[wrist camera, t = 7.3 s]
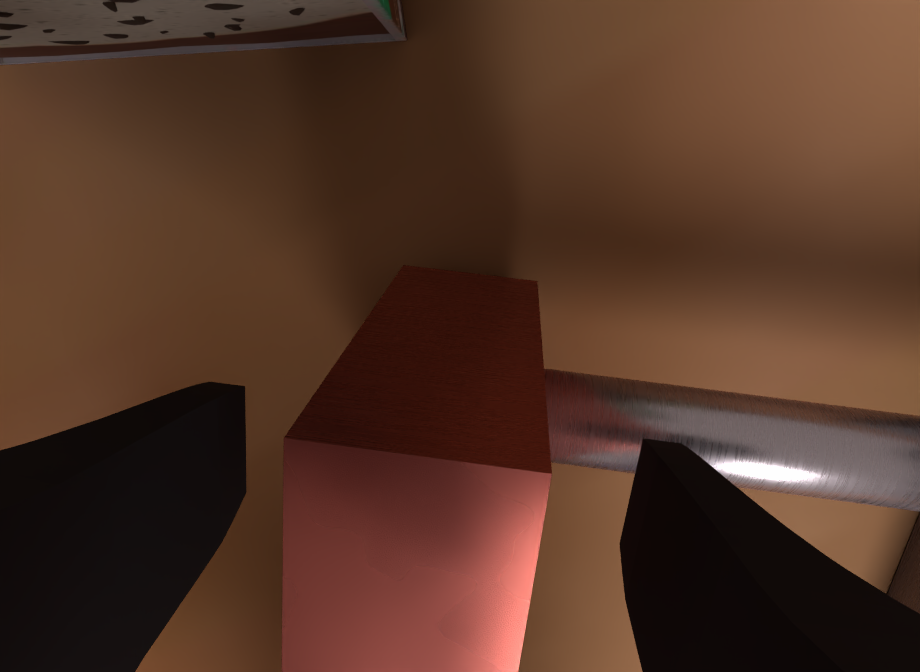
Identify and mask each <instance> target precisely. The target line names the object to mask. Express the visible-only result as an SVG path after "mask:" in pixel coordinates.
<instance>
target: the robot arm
mask: <svg viewBox="0 0 920 672" xmlns="http://www.w3.org/2000/svg"><path fill="white" fill-rule="evenodd" d="M245 494H246V425H245V386H238V385H230V384H223V383H215V382H206V383H201V384H197V385H194V386H190V387H187V388H184V389H181V390H178V391H175V392H172V393H170V394H167V395H164V396H161V397H158V398H156V399H153V400H150V401H148V402H145V403H142V404H139V405H137V406H134V407H131V408H129V409H126V410H123V411H120V412H118V413H115V414H112V415H109V416H107V417H104V418H101V419H98V420H95V421H92V422H89V423H86V424H83V425H80V426H77V427H74V428H71V429H68V430H65V431H62V432H59V433H56V434H53V435H50V436H47V437H44V438H41V439H38V440H35V441H32V442H28V443H25V444H22V445H18V446H15V447H11V448H8V449H4V450H0V672H135V671H136V669H137V668H138V666H139V664H140V663H141V661H142V660H143V658H144V656H145V655H146V653H147V652H148V651H149V649H150V648H151V646H152V645H153V643H154V642H155V640H156V639H157V637H158V636H159V634H160V633H161V632H162V630H163V629H164V627H165V626H166V624H167V623H168V621H169V620H170V618H171V617H172V615H173V614H174V613H175V611H176V610H177V608H178V607H179V605H180V604H181V602H182V601H183V599H184V598H185V596H186V595H187V594H188V592H189V591H190V589H191V588H192V586H193V585H194V583H195V582H196V580H197V579H198V577H199V576H200V574H201V573H202V572H203V570H204V569H205V567H206V566H207V564H208V563H209V561H210V560H211V558H212V557H213V555H214V554H215V552H216V551H217V549H218V547H219V546H220V544H221V543H222V541H223V539H224V537H225V535H226V533H227V531H228V529H229V527H230V525H231V524H232V522H233V520H234V517H235V515H236V513H237V511H238V509H239V507H240V505H241V502H242V500H243V498H244V496H245ZM620 552H621V563H622V574H623V583H624V592H625V600H626V604H627V609H628V613H629V617H630V621H631V626H632V630H633V634H634V638H635V642H636V647H637V651H638V655H639V659H640V663H641V667H642V671H643V672H920V614H919V613H918V612H916V611H914V610H912V609H911V608H909V607H907V606H905V605H904V604H902V603H900V602H898V601H897V600H895V599H893V598H892V597H890V596H888V595H887V594H885V593H884V592H882V591H880V590H879V589H877V588H876V587H874V586H872V585H871V584H869V583H868V582H866V581H864V580H863V579H861V578H860V577H858V576H856V575H855V574H853V573H852V572H850V571H848V570H847V569H845V568H844V567H842V566H841V565H839V564H838V563H836V562H835V561H833V560H832V559H830V558H829V557H827V556H826V555H824V554H823V553H822V552H820V551H819V550H817V549H816V548H815V547H813V546H812V545H811V544H809V543H808V542H806V541H805V540H804V539H802V538H801V537H800V536H798V535H797V534H795V533H794V532H793V531H791V530H790V529H789V528H787V527H786V526H785V525H783V524H782V523H781V522H780V521H778V520H777V519H776V518H774V517H773V516H772V515H770V514H769V513H768V512H767V511H765V510H764V509H763V508H762V507H760V506H759V505H758V504H757V503H755V502H754V501H753V500H752V499H751V498H749V497H748V496H747V495H746V494H744V493H743V492H742V491H741V490H740V489H738V488H737V487H736V486H735V485H734V484H732V483H731V482H730V481H729V480H728V479H726V478H725V477H724V476H723V475H722V474H720V473H719V472H718V471H717V470H716V469H714V468H713V467H712V466H711V465H710V464H708V463H707V462H706V461H705V460H703V459H702V458H701V457H700V456H698V455H697V454H696V453H695V452H693V451H692V450H691V449H689V448H688V447H686V446H685V445H683V444H682V443H675V442H668V441H660V440H652V439H645V438H643V441H642V445H641V450H640V454H639V459H638V463H637V468H636V472H635V477H634V481H633V486H632V490H631V495H630V499H629V504H628V508H627V513H626V517H625V522H624V526H623V531H622V535H621V540H620Z"/></svg>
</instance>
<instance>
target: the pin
mask: <svg viewBox="0 0 920 672" xmlns="http://www.w3.org/2000/svg"><path fill="white" fill-rule="evenodd" d="M643 438H645V439H652V440H660V441H668V442H675V443H682V444H683V445H685V446H686V447H688V448H689V449H691V450H692V451H693V452H695V453H696V454H697V455H698V456H700V457H701V458H702V459H703V460H705V461H706V462H707V463H708V464H710V465H711V466H712V467H713V468H714V469H716V470H717V471H718V472H719V473H720V474H722V475H723V476H724V477H725V478H726V479H728V480H729V481H730V482H731V483H732V484H734V485H735V486H736V487H740V488H747V489H755V490H762V491H770V492H777V493H785V494H792V495H800V496H807V497H815V498H822V499H830V500H837V501H845V502H852V503H860V504H867V505H875V506H882V507H890V508H897V509H905V510H913V511H920V416H916V415H908V414H900V413H893V412H885V411H877V410H869V409H861V408H853V407H845V406H837V405H829V404H821V403H813V402H805V401H797V400H790V399H782V398H774V397H766V396H758V395H750V394H742V393H734V392H726V391H718V390H710V389H702V388H694V387H687V386H679V385H671V384H663V383H655V382H647V381H639V380H631V379H623V378H615V377H607V376H599V375H592V374H584V373H576V372H568V371H560V370H552V369H544V364H543V351H542V338H541V324H540V311H539V298H538V285H537V281H531V280H523V279H515V278H506V277H498V276H490V275H481V274H473V273H465V272H456V271H448V270H440V269H431V268H423V267H415V266H406V265H403V267H402V268H401V269H400V271H399V272H398V274H397V275H396V277H395V278H394V280H393V281H392V282H391V284H390V285H389V287H388V288H387V290H386V291H385V293H384V294H383V295H382V297H381V298H380V300H379V301H378V303H377V304H376V306H375V307H374V308H373V310H372V311H371V313H370V314H369V316H368V317H367V319H366V320H365V321H364V323H363V324H362V326H361V327H360V329H359V330H358V332H357V333H356V334H355V336H354V337H353V339H352V340H351V342H350V343H349V345H348V346H347V347H346V349H345V350H344V352H343V353H342V355H341V356H340V358H339V359H338V360H337V362H336V363H335V365H334V366H333V368H332V369H331V371H330V372H329V373H328V375H327V376H326V378H325V379H324V381H323V382H322V384H321V385H320V386H319V388H318V389H317V391H316V392H315V394H314V395H313V397H312V398H311V400H310V401H309V402H308V404H307V405H306V407H305V408H304V410H303V411H302V413H301V414H300V415H299V417H298V418H297V420H296V421H295V423H294V424H293V426H292V427H291V428H290V430H289V431H288V433H287V434H286V436H285V437H284V479H283V595H282V672H518V669H519V663H520V657H521V652H522V646H523V640H524V634H525V628H526V622H527V616H528V611H529V605H530V599H531V593H532V587H533V581H534V576H535V570H536V564H537V558H538V552H539V546H540V540H541V535H542V529H543V523H544V517H545V511H546V505H547V500H548V494H549V488H550V482H551V476H552V469H551V462H552V463H559V464H567V465H574V466H582V467H589V468H597V469H604V470H612V471H619V472H627V473H634V474H635V472H636V468H637V463H638V459H639V454H640V450H641V445H642V441H643Z"/></svg>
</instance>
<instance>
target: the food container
mask: <svg viewBox="0 0 920 672" xmlns="http://www.w3.org/2000/svg"><path fill="white" fill-rule="evenodd" d="M390 41H407V35H406V28H405V21H404V15H403V8H402V1H401V0H0V65H10V64H27V63H43V62H60V61H76V60H93V59H110V58H126V57H143V56H159V55H176V54H192V53H209V52H225V51H242V50H258V49H275V48H291V47H308V46H324V45H341V44H357V43H374V42H390Z"/></svg>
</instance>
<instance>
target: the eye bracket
mask: <svg viewBox="0 0 920 672" xmlns="http://www.w3.org/2000/svg"><path fill="white" fill-rule="evenodd" d="M887 595H888V596H890V597H892V598H893V599H895V600H897V601H898V602H900V603H902V604H904V605H905V606H907V607H909V608H911V609H912V610H914V611H916V612H918V613H919V614H920V514H919V517H918V519H917V522H916V524H915V527H914V529H913V532H912V534H911V537H910V539H909V542H908V544H907V547H906V549H905V552H904V554H903V557H902V559H901V562H900V564H899V567H898V569H897V572H896V574H895V576H894V579H893V581H892V584H891V586H890V589H889V591H888V594H887Z"/></svg>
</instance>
